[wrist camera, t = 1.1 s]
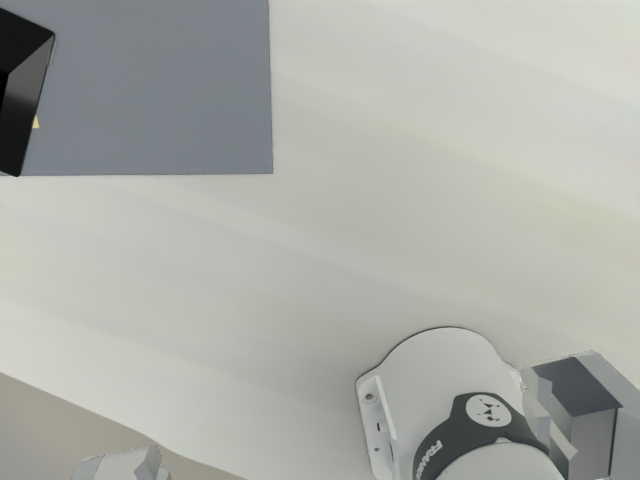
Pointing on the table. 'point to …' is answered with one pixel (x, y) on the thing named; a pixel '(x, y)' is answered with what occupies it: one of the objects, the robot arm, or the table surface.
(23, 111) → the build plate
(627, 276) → the table surface
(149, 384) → the table surface
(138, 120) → the mat
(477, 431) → the robot arm
